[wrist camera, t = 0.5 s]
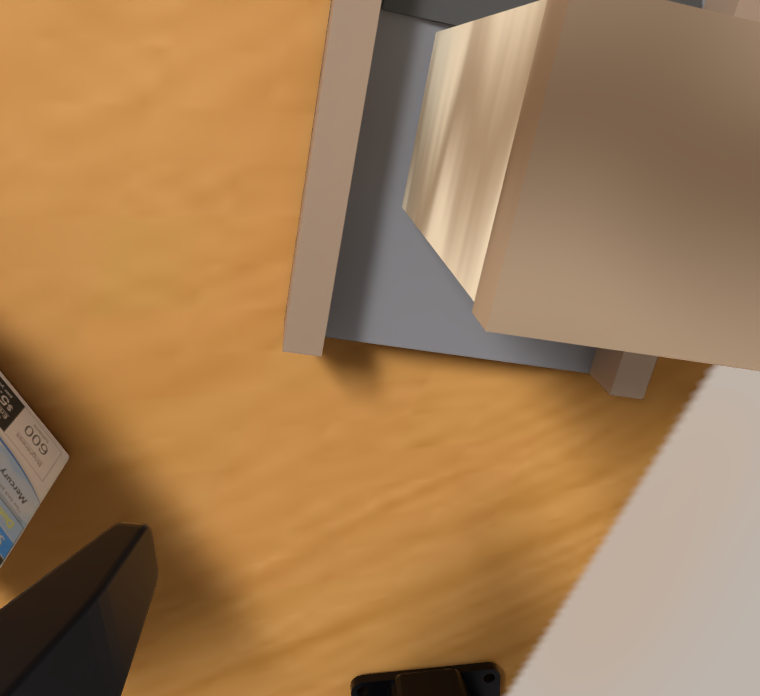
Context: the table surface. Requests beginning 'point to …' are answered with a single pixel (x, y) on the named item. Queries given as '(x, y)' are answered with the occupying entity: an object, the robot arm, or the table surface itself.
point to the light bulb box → (23, 465)
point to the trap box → (385, 198)
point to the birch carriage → (599, 175)
